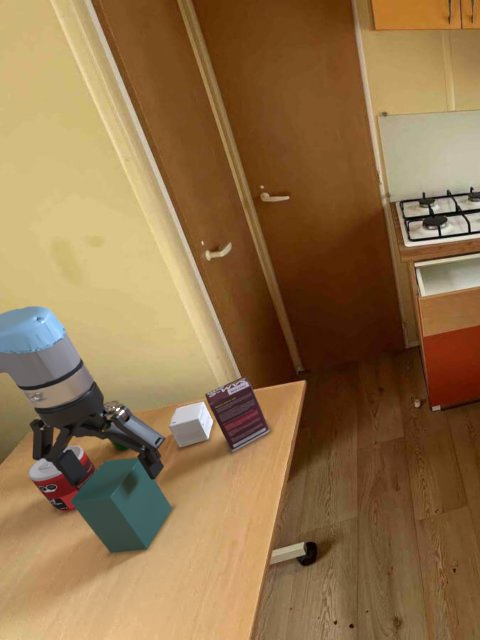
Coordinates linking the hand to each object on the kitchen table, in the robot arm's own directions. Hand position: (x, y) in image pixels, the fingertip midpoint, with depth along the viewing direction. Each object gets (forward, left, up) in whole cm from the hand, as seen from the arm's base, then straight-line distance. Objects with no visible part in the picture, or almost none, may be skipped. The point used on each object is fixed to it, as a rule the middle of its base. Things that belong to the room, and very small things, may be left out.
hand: (119, 476), depth 79 cm
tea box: (0, -2, -6) cm, 6 cm away
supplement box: (+11, +19, -14) cm, 26 cm away
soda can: (-17, +20, -14) cm, 30 cm away
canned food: (-18, +7, -14) cm, 24 cm away
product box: (-2, +21, -14) cm, 25 cm away
